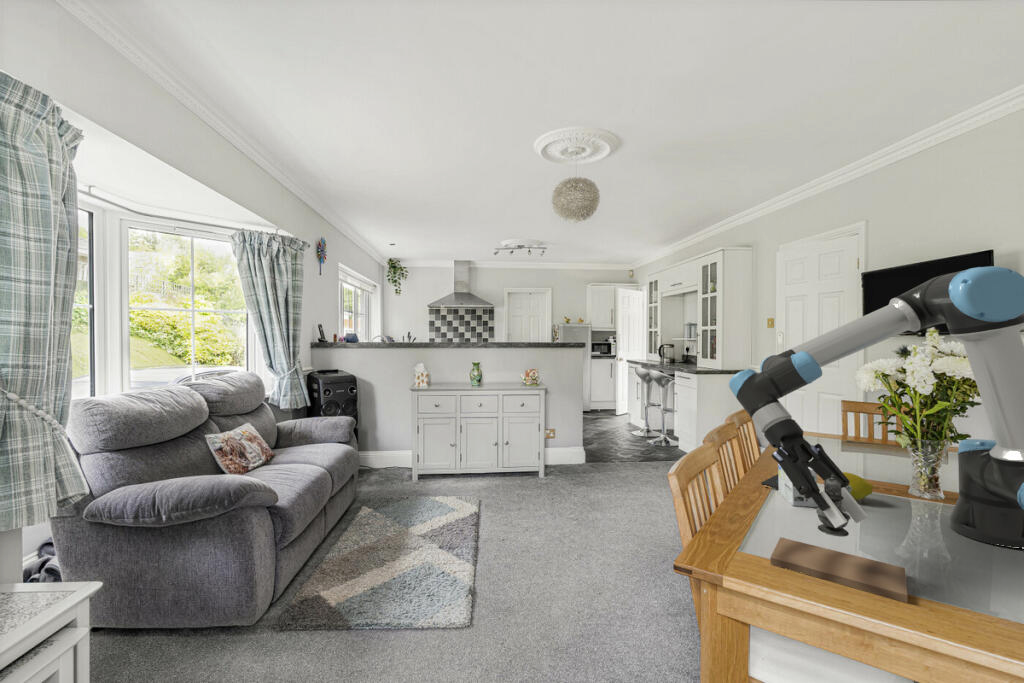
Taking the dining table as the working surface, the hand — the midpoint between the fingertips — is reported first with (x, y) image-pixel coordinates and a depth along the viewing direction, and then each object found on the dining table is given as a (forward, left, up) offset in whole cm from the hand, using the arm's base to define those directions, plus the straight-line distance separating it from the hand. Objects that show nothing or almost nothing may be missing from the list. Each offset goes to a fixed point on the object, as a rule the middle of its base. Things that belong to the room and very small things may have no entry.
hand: (851, 522), depth 88 cm
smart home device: (+20, -57, -12) cm, 62 cm away
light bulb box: (+15, -42, -12) cm, 46 cm away
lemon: (+3, -51, -12) cm, 52 cm away
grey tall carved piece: (+3, -2, -4) cm, 5 cm away
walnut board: (+3, -2, -11) cm, 12 cm away
